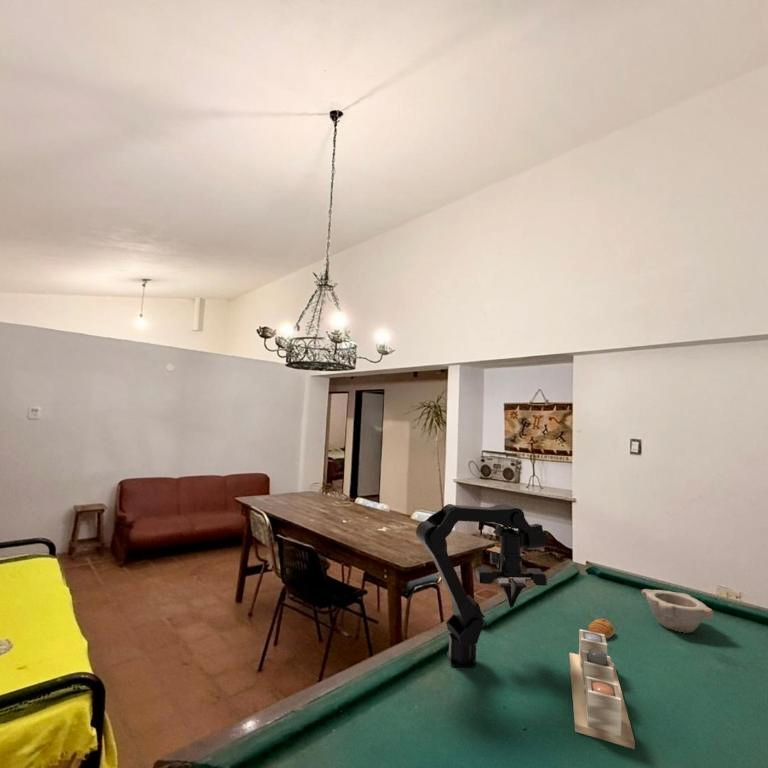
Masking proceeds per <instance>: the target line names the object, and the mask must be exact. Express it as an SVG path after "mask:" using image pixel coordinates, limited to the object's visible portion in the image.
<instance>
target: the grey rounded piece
mask: <svg viewBox="0 0 768 768" xmlns="http://www.w3.org/2000/svg"><path fill="white" fill-rule="evenodd" d="M607 656H608V654H607V655H606V653H604V652H603V651H601V650H598V649H589V650H588V662H590V663H594V664H599V665H603V666H607Z"/></svg>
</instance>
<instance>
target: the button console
mask: <svg viewBox="0 0 768 768" xmlns="http://www.w3.org/2000/svg"><path fill="white" fill-rule="evenodd" d="M578 632H579V633H578V637H579V640H578V643H579V644H578V645H579V646H578V653H574V652H569V668H570V680H571V684H570V685H571V695H572V706H573V719H574V731H575V733H579V734H582V735H585V736H589V737H593V738H595V739H600V740H602V741H606V742H609V743H612V744H616V745H619V746H623V747H625V748H629V749H633V750H635V749H636V747H635V745H636V744H635V743H636V741H635V737H634V734H633V730H632V727H631V722H630V719H629V714H628V711H627V706H626V704H625V700H624V696H623V692H622V688H621V685H620V681H619V677H618V673H617V670H616V666H615V663H614V662H612V659H611V656H609V655H608V643H607V639H605V635H604V634H600V633H595V632H591V631H589V630H585V629H579V631H578ZM588 633H589V634H594V635H597V636H599V637H600V638H601V642H596V641H592V640H587V639H585V634H588ZM589 649H598V650H601V651H603V652H604V653H606V655H607V666H603V665H599V664H594V663H590V662H588V650H589ZM595 682H600V683H604V684H606V685H608V686H610V687H611V688H612V689H613V696H611V695H607V694H603V693H599V692H595V691H593V683H595Z"/></svg>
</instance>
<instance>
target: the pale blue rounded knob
mask: <svg viewBox="0 0 768 768" xmlns="http://www.w3.org/2000/svg"><path fill="white" fill-rule="evenodd" d="M585 639H587V640H592V641H596V642H601V638H600V637H599V636H597V635H594V634H589V633H588V634H585Z"/></svg>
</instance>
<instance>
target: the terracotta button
mask: <svg viewBox="0 0 768 768" xmlns="http://www.w3.org/2000/svg"><path fill="white" fill-rule="evenodd" d="M593 691H595V692H599V693H603V694H607V695H611V696H613V689H612V688H611V687H610V686H608V685H606V684H604V683H600V682H595V683H593Z"/></svg>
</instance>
